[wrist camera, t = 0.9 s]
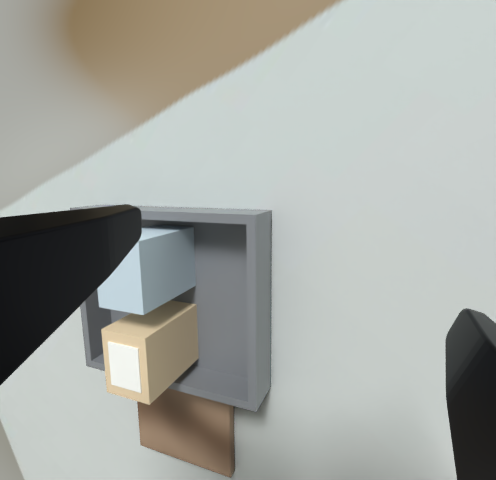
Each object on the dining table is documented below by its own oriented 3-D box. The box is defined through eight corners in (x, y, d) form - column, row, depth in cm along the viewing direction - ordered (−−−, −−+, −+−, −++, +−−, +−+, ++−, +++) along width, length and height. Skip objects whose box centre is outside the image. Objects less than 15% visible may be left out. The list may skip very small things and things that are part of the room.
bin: (270, 386, 25) (256, 412, 22) (113, 349, 31) (86, 365, 28) (271, 210, 23) (255, 214, 20) (100, 204, 28) (70, 207, 26)
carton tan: (198, 358, 27) (148, 405, 21) (161, 349, 28) (105, 392, 22) (196, 304, 26) (144, 339, 20) (158, 298, 27) (100, 329, 22)
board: (234, 469, 28) (230, 477, 27) (146, 438, 31) (140, 445, 31) (233, 393, 27) (228, 399, 26) (141, 370, 30) (135, 374, 29)
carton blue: (195, 285, 26) (143, 315, 20) (157, 280, 27) (99, 307, 21) (193, 226, 25) (138, 241, 19) (154, 224, 26) (92, 237, 21)
